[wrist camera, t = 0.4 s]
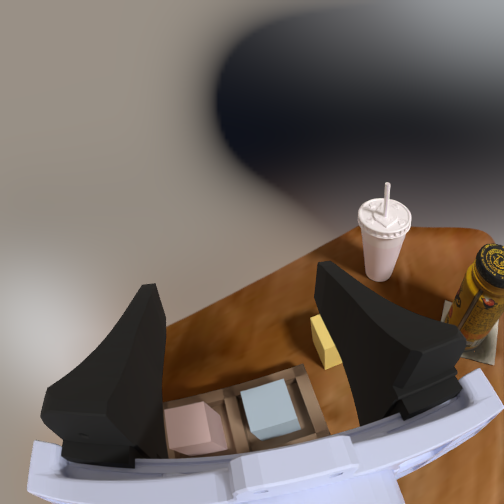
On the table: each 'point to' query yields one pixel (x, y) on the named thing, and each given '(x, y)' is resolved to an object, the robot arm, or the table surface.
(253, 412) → the blue block
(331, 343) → the mustard block
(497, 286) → the condiment
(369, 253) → the smoothie
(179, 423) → the rose block
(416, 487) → the table surface
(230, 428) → the block tray
